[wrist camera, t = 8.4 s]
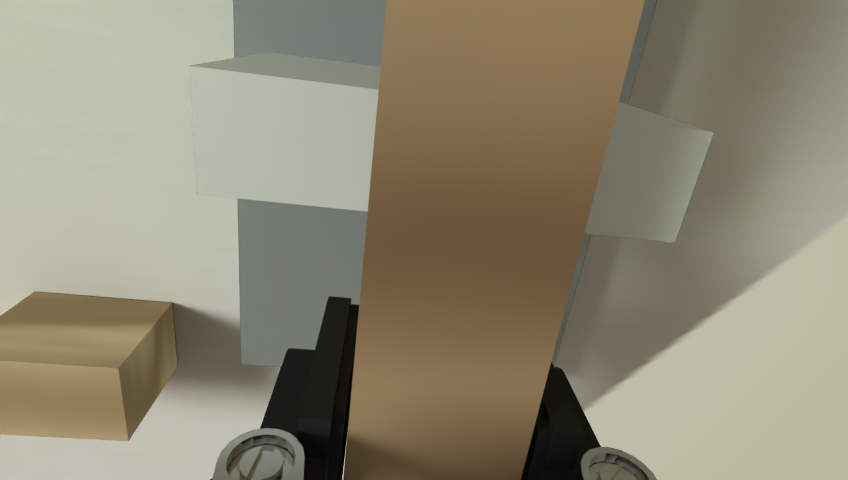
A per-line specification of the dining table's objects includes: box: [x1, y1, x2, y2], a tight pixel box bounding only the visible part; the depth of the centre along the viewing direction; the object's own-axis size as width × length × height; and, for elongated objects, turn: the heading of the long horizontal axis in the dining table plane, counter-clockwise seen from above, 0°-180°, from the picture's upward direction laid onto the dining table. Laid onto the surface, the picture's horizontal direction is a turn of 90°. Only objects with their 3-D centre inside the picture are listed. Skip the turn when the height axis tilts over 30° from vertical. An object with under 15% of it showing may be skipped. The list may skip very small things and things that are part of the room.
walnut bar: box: [344, 0, 645, 480], centre depth 8 cm, size 24×3×3 cm, turn 173°
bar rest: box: [0, 292, 177, 441], centre depth 14 cm, size 23×5×4 cm, turn 173°
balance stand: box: [189, 0, 714, 367], centre depth 13 cm, size 20×12×8 cm, turn 173°
